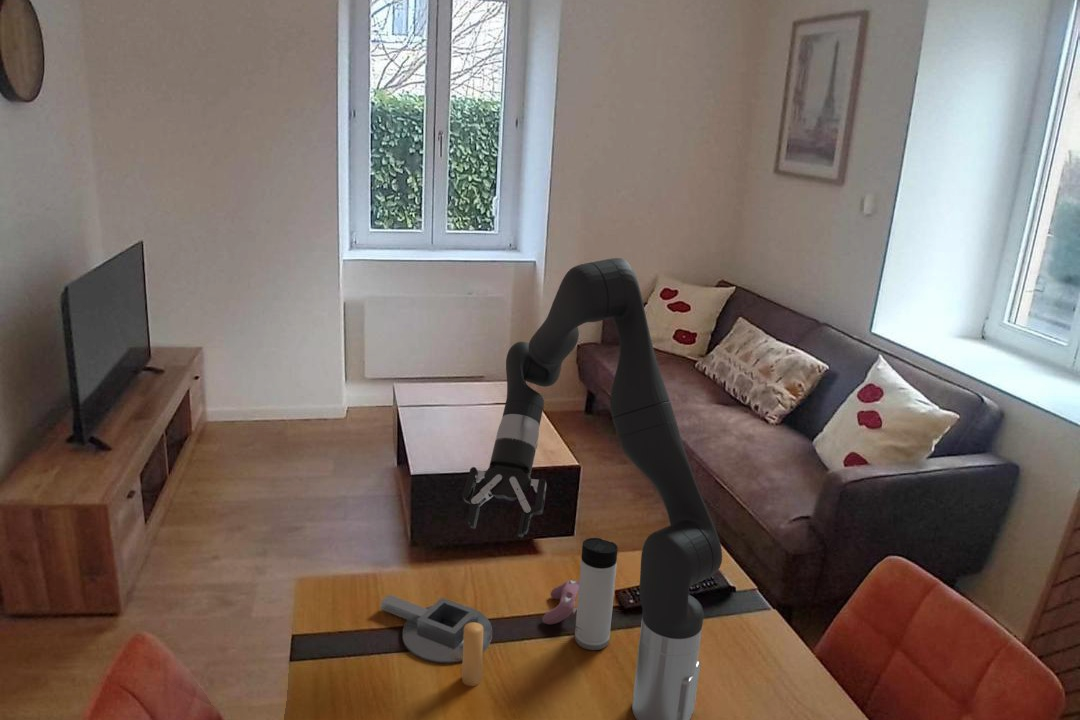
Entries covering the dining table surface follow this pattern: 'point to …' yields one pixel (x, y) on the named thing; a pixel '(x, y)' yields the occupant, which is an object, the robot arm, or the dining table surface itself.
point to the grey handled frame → (436, 628)
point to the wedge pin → (472, 654)
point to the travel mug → (595, 593)
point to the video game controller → (562, 602)
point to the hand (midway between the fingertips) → (496, 531)
